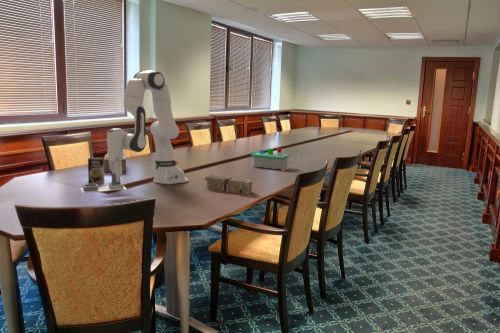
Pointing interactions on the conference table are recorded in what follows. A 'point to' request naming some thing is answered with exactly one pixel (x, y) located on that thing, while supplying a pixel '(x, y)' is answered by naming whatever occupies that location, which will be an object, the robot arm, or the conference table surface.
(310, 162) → the conference table surface
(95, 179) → the coffee box
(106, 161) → the tissue box cover
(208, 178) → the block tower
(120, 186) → the panel
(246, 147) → the conference table surface
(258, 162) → the control panel
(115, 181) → the plug
